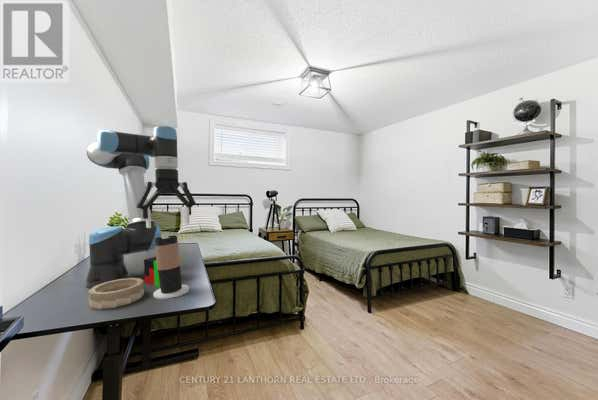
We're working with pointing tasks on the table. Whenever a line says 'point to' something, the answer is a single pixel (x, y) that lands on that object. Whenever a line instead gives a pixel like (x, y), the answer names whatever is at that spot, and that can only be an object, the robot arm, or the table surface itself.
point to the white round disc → (159, 295)
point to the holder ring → (116, 293)
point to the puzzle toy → (152, 271)
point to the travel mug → (168, 264)
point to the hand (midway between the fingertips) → (168, 225)
